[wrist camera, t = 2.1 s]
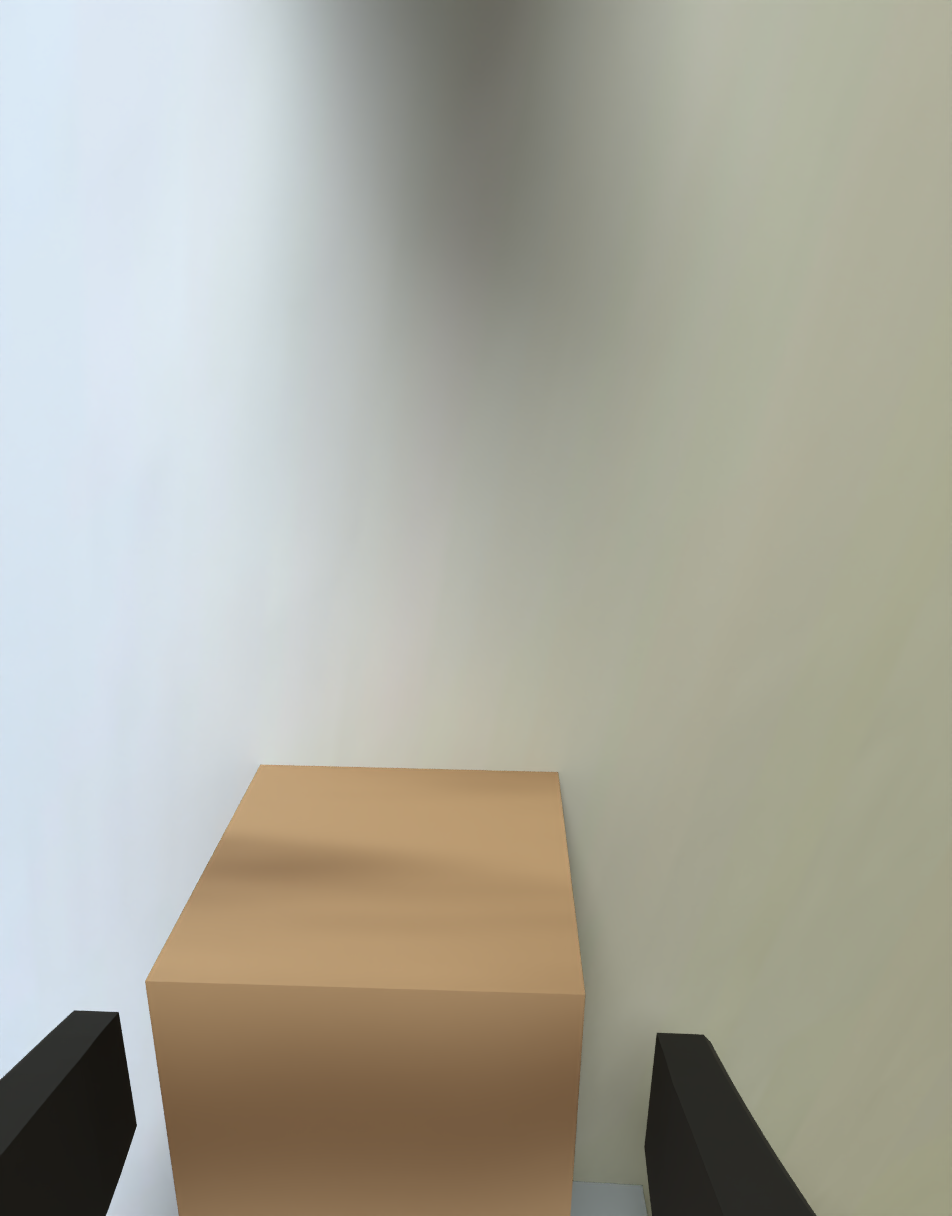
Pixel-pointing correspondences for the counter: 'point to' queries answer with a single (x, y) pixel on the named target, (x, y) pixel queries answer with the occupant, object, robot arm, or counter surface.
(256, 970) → the walnut cube
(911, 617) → the counter surface
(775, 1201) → the robot arm
